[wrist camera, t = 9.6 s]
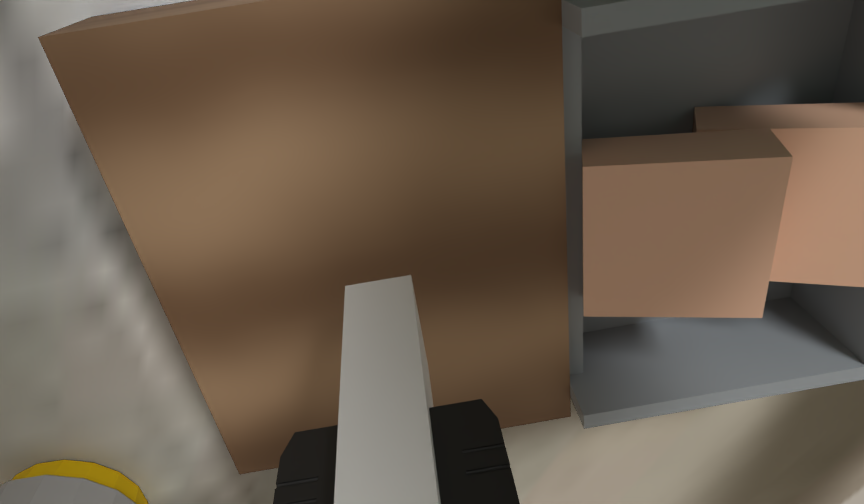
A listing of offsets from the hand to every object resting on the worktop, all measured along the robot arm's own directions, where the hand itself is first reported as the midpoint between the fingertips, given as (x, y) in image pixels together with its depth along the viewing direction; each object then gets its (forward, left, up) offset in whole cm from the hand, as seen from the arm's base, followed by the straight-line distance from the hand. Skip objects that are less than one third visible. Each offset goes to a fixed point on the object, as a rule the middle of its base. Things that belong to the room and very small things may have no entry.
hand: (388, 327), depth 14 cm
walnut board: (+1, -1, -7) cm, 7 cm away
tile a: (+1, +9, -4) cm, 10 cm away
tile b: (+1, +12, -3) cm, 12 cm away
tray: (+1, +10, -7) cm, 12 cm away
